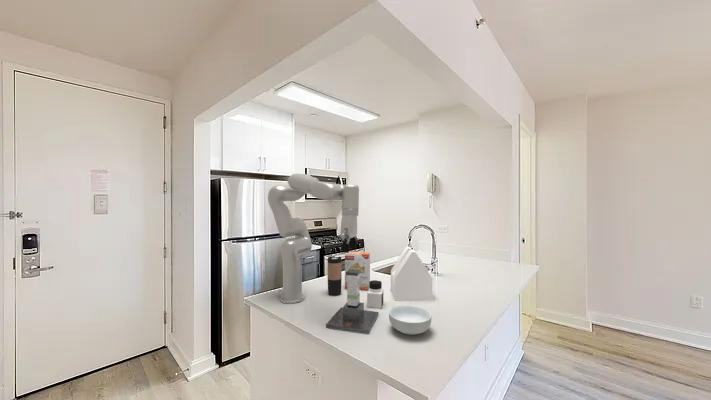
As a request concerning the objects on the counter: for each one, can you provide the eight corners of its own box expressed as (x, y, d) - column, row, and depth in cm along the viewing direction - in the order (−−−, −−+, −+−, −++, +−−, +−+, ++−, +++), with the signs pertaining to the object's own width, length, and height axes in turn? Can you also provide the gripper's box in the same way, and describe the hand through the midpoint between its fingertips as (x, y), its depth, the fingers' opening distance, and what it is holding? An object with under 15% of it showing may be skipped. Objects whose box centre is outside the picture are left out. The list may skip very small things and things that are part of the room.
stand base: (325, 327, 114) (325, 310, 114) (341, 310, 132) (340, 295, 132) (368, 334, 109) (368, 316, 109) (378, 315, 126) (378, 299, 126)
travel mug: (330, 297, 149) (330, 259, 148) (325, 292, 156) (325, 256, 155) (343, 294, 152) (343, 258, 152) (338, 290, 159) (338, 255, 159)
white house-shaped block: (424, 290, 160) (424, 246, 159) (432, 300, 144) (432, 252, 144) (390, 290, 159) (390, 246, 159) (395, 300, 144) (395, 252, 143)
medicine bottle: (381, 308, 134) (381, 283, 134) (367, 307, 135) (367, 282, 135) (383, 303, 141) (383, 279, 141) (369, 301, 142) (369, 278, 142)
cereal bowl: (423, 345, 101) (423, 326, 101) (381, 333, 110) (381, 315, 109) (436, 327, 115) (436, 309, 115) (399, 317, 124) (399, 301, 124)
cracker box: (344, 289, 161) (344, 253, 161) (346, 286, 167) (346, 251, 166) (368, 290, 159) (368, 254, 158) (370, 287, 165) (370, 251, 164)
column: (345, 305, 119) (345, 272, 118) (349, 301, 124) (349, 269, 123) (357, 307, 117) (357, 273, 117) (361, 302, 122) (360, 269, 122)
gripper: (348, 210, 135) (348, 246, 136) (334, 213, 119) (333, 253, 119) (363, 211, 133) (362, 247, 133) (351, 214, 116) (350, 255, 117)
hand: (349, 250), depth 126 cm, fingers open, 9 cm apart
